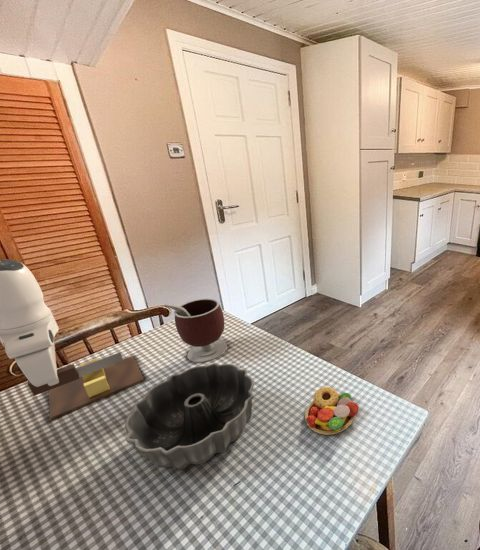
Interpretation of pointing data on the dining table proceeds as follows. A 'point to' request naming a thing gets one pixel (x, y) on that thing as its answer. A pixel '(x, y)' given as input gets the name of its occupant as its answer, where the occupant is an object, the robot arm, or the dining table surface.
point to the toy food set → (330, 411)
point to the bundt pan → (191, 415)
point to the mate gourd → (201, 328)
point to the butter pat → (96, 386)
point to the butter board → (80, 395)
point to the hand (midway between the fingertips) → (54, 379)
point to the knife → (76, 372)
